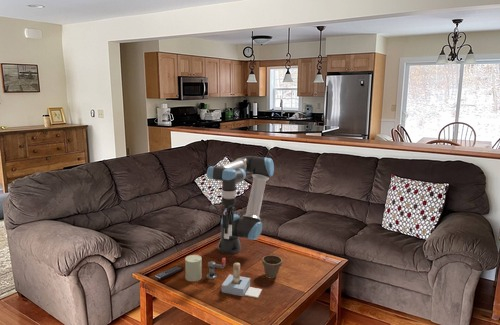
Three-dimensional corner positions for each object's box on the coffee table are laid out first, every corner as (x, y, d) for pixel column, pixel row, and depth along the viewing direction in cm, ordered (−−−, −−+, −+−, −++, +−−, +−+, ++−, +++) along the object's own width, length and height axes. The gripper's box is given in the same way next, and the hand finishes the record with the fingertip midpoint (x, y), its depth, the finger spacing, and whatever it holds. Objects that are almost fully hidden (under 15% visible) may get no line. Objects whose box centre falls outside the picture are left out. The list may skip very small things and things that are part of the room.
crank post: (209, 273, 214) (209, 263, 213) (218, 274, 213) (218, 265, 211) (204, 278, 209) (204, 268, 208) (214, 280, 207) (214, 270, 206)
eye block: (229, 280, 207) (229, 274, 206) (250, 284, 203) (250, 278, 203) (221, 292, 195) (221, 285, 195) (243, 296, 192) (243, 289, 191)
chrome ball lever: (209, 263, 212) (209, 254, 211) (226, 266, 209) (226, 257, 208) (206, 267, 208) (206, 257, 207) (223, 270, 205) (224, 260, 204)
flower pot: (285, 278, 212) (286, 261, 210) (267, 282, 206) (268, 265, 204) (274, 269, 222) (275, 253, 220) (257, 272, 216) (258, 256, 214)
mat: (249, 287, 200) (249, 286, 200) (261, 290, 198) (261, 289, 198) (244, 295, 193) (244, 294, 193) (257, 298, 191) (257, 297, 191)
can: (193, 283, 203) (193, 263, 201) (181, 277, 208) (181, 257, 206) (205, 276, 210) (205, 257, 208) (193, 271, 216) (193, 252, 213)
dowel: (234, 286, 202) (234, 262, 199) (240, 287, 201) (241, 263, 198) (231, 289, 198) (232, 265, 195) (238, 290, 197) (238, 266, 194)
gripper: (227, 192, 214) (226, 230, 219) (216, 200, 198) (216, 241, 203) (240, 193, 212) (239, 232, 217) (229, 202, 196) (228, 243, 201)
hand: (227, 236), depth 210 cm, fingers open, 4 cm apart
